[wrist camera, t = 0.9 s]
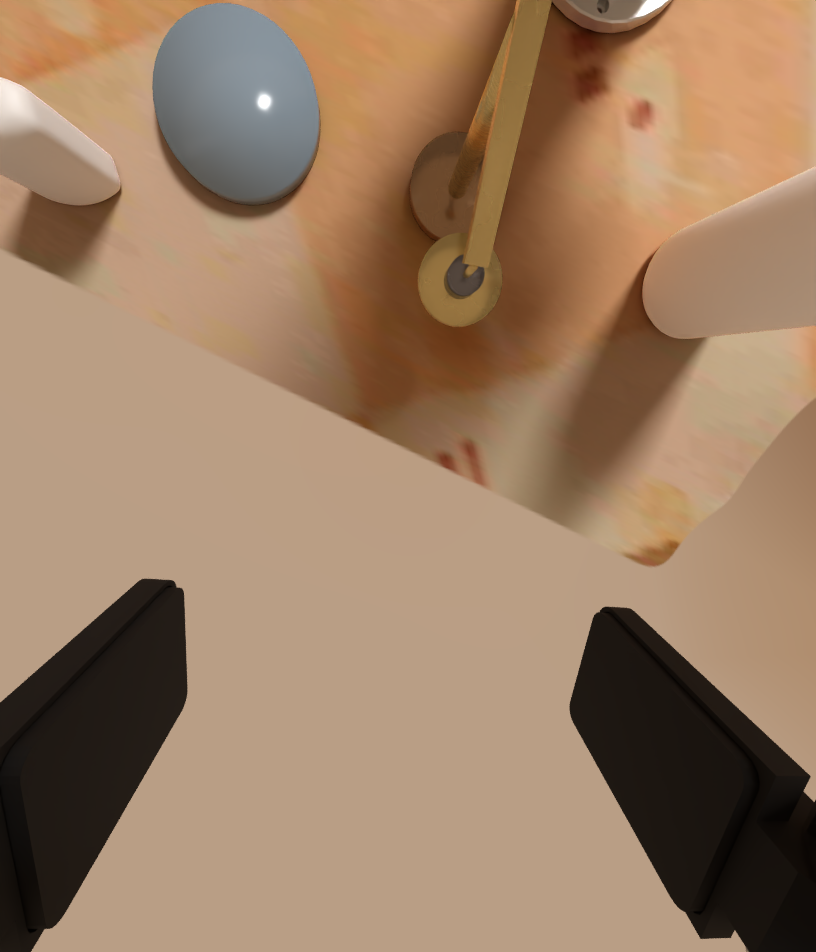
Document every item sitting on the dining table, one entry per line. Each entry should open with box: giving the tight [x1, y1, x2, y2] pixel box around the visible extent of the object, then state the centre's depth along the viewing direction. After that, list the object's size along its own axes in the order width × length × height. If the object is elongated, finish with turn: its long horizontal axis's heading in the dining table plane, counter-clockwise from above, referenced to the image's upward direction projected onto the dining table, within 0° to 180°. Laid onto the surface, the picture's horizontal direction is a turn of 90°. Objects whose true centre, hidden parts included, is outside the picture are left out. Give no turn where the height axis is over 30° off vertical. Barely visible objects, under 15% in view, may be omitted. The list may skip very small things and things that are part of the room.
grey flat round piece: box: [153, 3, 321, 205], centre depth 27 cm, size 11×11×1 cm
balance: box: [409, 0, 552, 327], centre depth 21 cm, size 21×7×18 cm, turn 171°
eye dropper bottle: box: [0, 77, 121, 205], centre depth 22 cm, size 4×6×12 cm
